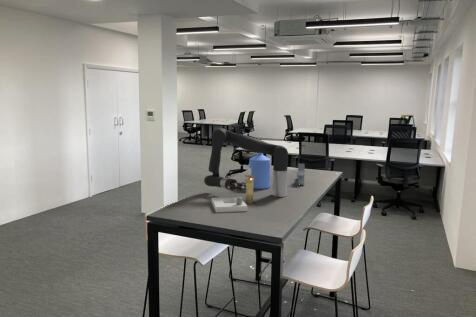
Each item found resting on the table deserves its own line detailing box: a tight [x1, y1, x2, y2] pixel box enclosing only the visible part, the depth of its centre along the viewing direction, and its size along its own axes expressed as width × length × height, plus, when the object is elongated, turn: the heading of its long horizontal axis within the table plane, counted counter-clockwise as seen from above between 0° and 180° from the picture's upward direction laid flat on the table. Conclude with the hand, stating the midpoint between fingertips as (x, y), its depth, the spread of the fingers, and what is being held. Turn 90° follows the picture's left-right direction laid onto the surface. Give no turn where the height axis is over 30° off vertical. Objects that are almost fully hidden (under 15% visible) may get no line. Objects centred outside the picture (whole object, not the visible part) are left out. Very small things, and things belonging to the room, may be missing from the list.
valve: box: [244, 174, 254, 205], centre depth 236 cm, size 6×5×17 cm
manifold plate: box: [211, 196, 248, 213], centre depth 228 cm, size 22×18×7 cm
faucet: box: [296, 163, 306, 186], centre depth 300 cm, size 6×17×30 cm
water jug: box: [248, 153, 272, 190], centre depth 281 cm, size 16×16×28 cm
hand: (246, 187), depth 238 cm, fingers open, 8 cm apart
